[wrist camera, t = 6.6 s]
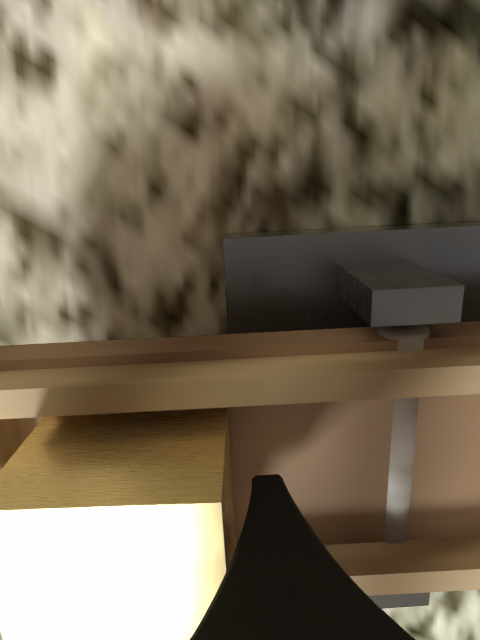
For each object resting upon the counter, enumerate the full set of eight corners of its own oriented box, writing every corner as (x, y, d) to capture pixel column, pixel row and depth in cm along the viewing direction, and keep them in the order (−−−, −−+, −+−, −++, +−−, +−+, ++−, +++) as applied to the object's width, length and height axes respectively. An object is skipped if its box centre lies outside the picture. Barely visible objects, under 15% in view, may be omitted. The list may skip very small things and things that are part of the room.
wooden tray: (790, 301, 13) (911, 328, 11) (713, 521, 16) (797, 581, 14) (-8, 341, 13) (-59, 378, 11) (42, 558, 16) (10, 626, 13)
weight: (227, 402, 12) (221, 502, 9) (236, 544, 14) (233, 682, 10) (49, 409, 13) (-34, 511, 9) (77, 549, 14) (17, 688, 10)
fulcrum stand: (500, 220, 16) (617, 239, 11) (461, 514, 20) (535, 619, 15) (222, 234, 16) (222, 260, 11) (239, 528, 20) (245, 640, 15)
